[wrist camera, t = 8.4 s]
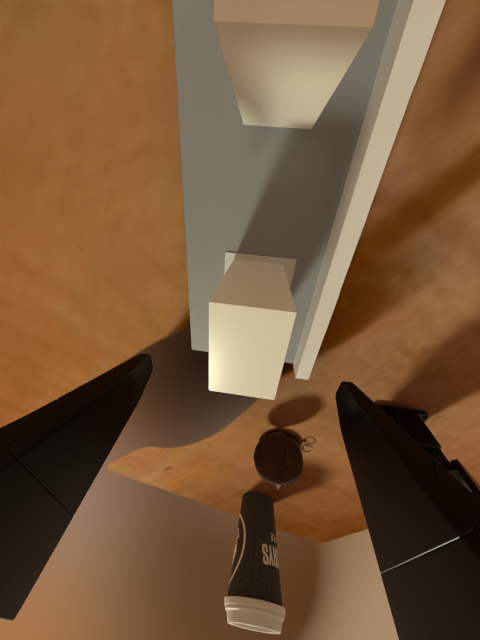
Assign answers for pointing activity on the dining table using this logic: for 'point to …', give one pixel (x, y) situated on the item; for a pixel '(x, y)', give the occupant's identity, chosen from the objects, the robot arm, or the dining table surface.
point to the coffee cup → (255, 569)
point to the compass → (279, 458)
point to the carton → (250, 329)
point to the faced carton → (289, 54)
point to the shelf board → (288, 167)
